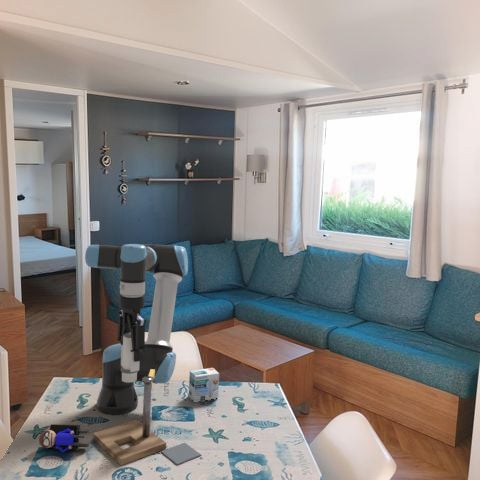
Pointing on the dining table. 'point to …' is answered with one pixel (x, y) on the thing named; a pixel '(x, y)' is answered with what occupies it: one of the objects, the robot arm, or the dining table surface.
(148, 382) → the post
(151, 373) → the bar
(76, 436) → the character figurine
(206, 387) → the light bulb box
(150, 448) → the socket board
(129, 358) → the plug
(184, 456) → the mat
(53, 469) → the dining table surface
